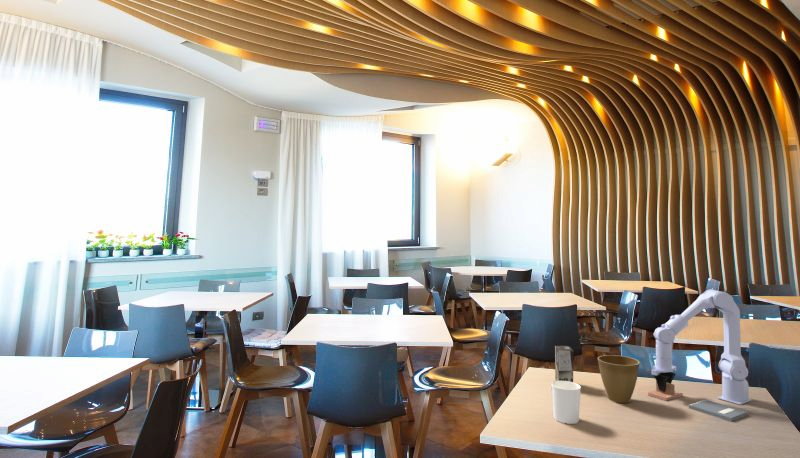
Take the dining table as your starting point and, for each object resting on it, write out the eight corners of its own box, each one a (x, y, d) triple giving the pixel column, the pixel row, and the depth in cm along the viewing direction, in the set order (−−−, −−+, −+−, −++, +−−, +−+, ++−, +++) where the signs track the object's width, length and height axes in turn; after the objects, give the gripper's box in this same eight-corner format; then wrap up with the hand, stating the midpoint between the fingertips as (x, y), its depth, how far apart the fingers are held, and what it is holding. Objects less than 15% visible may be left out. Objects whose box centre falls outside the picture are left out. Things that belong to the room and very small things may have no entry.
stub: (664, 390, 185) (664, 378, 185) (682, 395, 179) (682, 383, 179) (648, 394, 179) (647, 382, 179) (665, 400, 173) (665, 387, 173)
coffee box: (573, 388, 186) (573, 350, 187) (558, 387, 188) (558, 349, 188) (570, 382, 195) (569, 345, 196) (554, 380, 196) (554, 344, 197)
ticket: (705, 402, 171) (705, 399, 171) (747, 415, 159) (747, 411, 159) (688, 408, 165) (688, 404, 165) (731, 421, 153) (731, 417, 153)
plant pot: (611, 391, 184) (611, 353, 184) (647, 402, 171) (647, 361, 171) (590, 397, 176) (589, 357, 176) (625, 410, 163) (625, 366, 163)
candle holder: (580, 416, 157) (580, 382, 157) (582, 426, 148) (581, 391, 148) (551, 412, 160) (551, 379, 161) (551, 422, 151) (551, 387, 151)
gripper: (664, 352, 187) (664, 384, 186) (643, 357, 180) (644, 390, 179) (681, 356, 181) (681, 389, 180) (661, 361, 173) (661, 395, 173)
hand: (664, 390), depth 179 cm, fingers closed on stub, 2 cm apart
